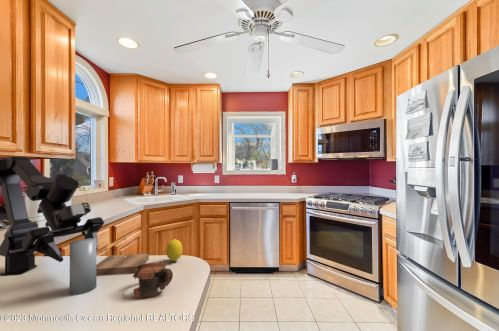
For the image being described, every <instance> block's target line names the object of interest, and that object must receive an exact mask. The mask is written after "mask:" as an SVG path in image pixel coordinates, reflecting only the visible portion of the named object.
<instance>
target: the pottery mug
mask: <svg viewBox="0 0 499 331" xmlns="http://www.w3.org/2000/svg"><path fill="white" fill-rule="evenodd" d="M137 268H138V270H137V271H136V272H135V273H133V275H132V277H133V278H134V279H135V280H136V279H138V286H137V287H135V288H134V289H133V298H134V299H138V298H150V297H151V298H152V297H157V296H158V291H159V290H160V291H163V290H165V289H166V287H168V285H170V283H171V282H172V280H173V275H174V274H173V271H172V270H171V268H166V264H165V263H163V262H146V263H145V264H142V265H139V266H137Z"/></svg>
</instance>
